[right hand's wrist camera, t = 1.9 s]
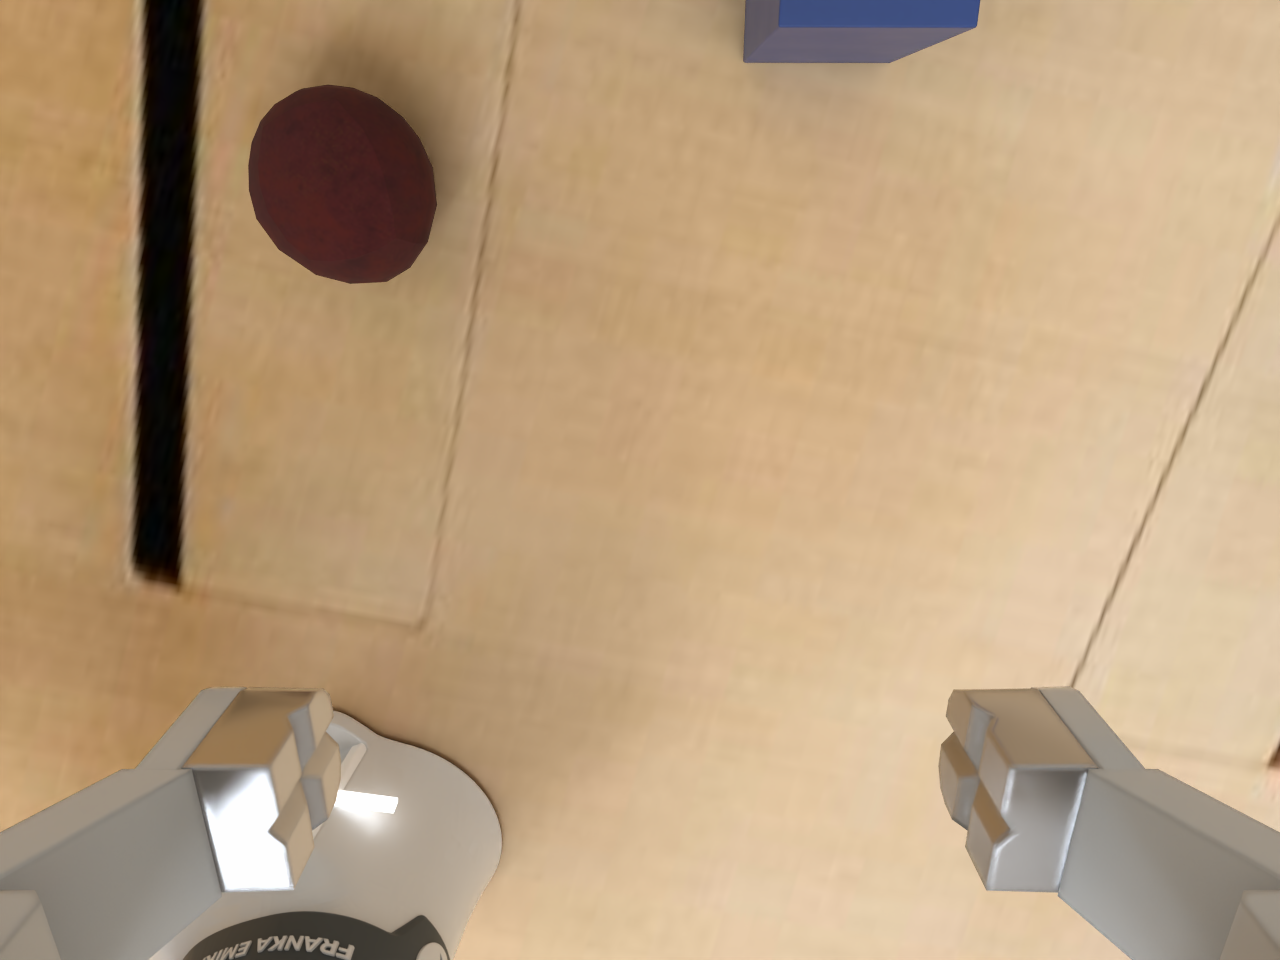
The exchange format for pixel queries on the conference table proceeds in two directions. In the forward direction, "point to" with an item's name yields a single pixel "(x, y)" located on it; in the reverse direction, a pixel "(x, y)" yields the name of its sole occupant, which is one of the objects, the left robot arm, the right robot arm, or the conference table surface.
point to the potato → (342, 184)
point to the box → (850, 29)
